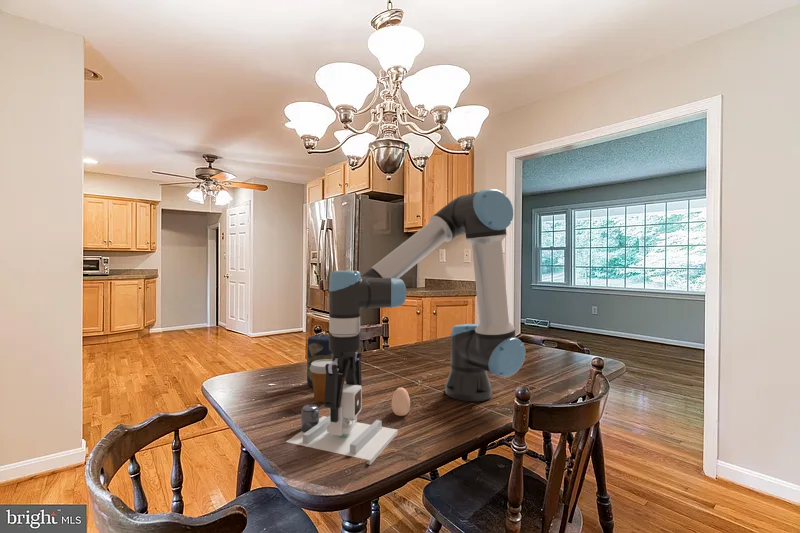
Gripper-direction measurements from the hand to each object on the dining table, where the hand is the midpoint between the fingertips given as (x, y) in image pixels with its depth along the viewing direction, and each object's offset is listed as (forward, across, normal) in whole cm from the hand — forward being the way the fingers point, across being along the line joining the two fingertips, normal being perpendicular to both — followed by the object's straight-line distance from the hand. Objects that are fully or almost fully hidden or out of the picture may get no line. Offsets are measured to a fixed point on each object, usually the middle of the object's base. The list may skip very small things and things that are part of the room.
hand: (344, 427), depth 93 cm
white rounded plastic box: (0, 0, 0) cm, 0 cm away
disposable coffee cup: (+3, -20, -18) cm, 27 cm away
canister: (+3, -33, -28) cm, 43 cm away
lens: (+2, 0, -10) cm, 10 cm away
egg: (+3, -18, +8) cm, 20 cm away
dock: (+3, 0, 0) cm, 3 cm away
